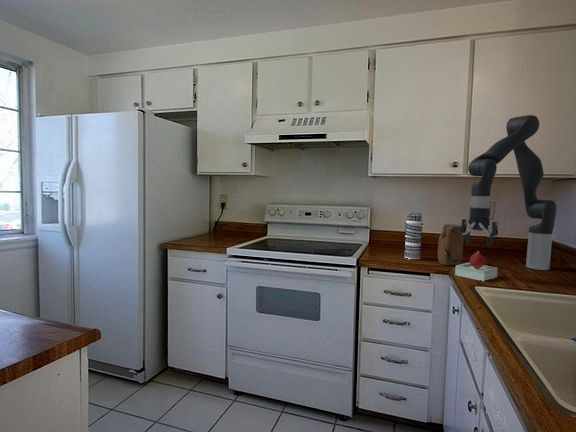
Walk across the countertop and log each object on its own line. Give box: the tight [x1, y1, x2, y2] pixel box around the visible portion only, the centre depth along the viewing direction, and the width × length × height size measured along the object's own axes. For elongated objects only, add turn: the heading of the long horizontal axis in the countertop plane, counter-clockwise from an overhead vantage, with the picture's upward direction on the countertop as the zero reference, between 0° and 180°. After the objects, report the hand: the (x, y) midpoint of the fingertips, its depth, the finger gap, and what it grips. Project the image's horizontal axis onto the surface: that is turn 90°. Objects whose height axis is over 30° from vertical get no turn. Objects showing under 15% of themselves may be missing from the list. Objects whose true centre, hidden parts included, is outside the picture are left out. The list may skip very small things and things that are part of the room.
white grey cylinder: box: [403, 211, 424, 260], centre depth 183 cm, size 9×9×25 cm
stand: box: [454, 262, 499, 282], centre depth 148 cm, size 12×12×4 cm
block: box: [437, 223, 464, 266], centre depth 170 cm, size 11×8×20 cm
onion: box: [469, 250, 486, 269], centre depth 147 cm, size 6×6×8 cm
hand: (477, 244), depth 147 cm, fingers open, 8 cm apart
